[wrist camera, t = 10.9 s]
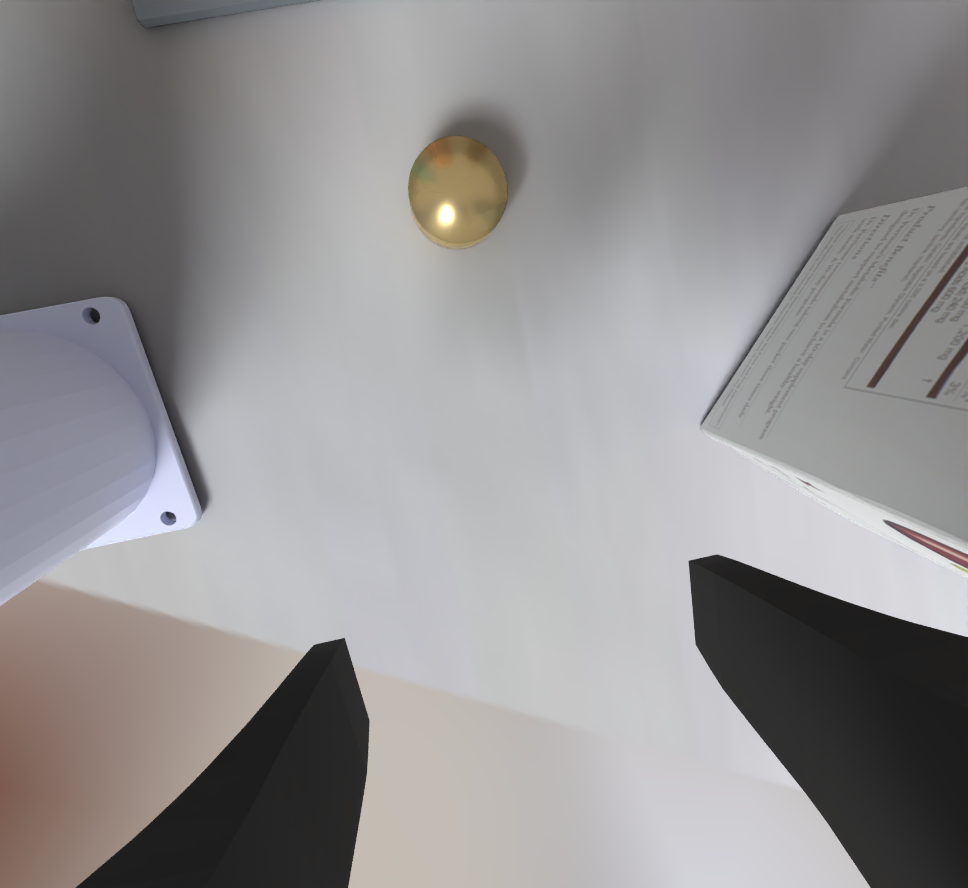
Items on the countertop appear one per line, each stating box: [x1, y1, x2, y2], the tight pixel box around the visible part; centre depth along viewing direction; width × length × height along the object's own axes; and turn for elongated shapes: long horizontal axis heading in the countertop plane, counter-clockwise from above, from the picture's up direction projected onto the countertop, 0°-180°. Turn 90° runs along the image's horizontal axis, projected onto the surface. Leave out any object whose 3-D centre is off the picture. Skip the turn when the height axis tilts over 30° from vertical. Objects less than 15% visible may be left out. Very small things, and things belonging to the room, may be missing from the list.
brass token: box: [408, 136, 507, 249], centre depth 16 cm, size 3×3×2 cm
